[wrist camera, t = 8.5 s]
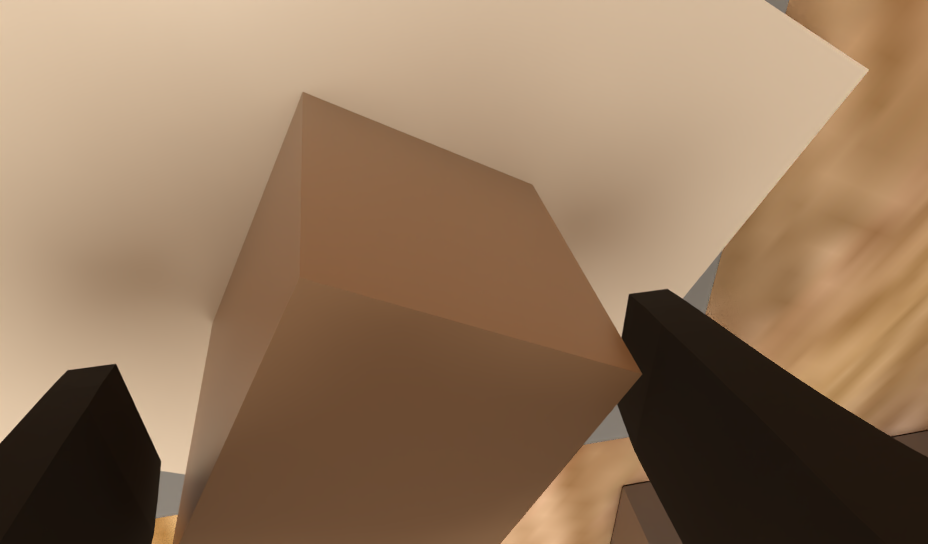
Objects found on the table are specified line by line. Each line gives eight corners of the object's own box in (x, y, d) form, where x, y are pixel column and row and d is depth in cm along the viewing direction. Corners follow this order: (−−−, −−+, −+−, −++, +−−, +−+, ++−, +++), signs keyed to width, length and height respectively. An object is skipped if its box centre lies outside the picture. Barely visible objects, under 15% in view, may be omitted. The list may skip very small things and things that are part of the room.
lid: (841, 56, 13) (1145, 203, 8) (495, 495, 19) (556, 719, 14) (10, -493, 7) (-587, -1075, 2) (-89, 401, 13) (-303, 726, 9)
